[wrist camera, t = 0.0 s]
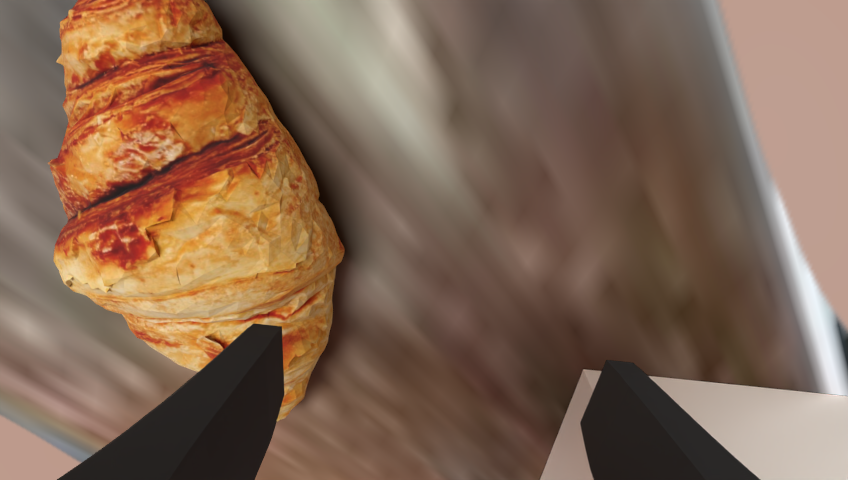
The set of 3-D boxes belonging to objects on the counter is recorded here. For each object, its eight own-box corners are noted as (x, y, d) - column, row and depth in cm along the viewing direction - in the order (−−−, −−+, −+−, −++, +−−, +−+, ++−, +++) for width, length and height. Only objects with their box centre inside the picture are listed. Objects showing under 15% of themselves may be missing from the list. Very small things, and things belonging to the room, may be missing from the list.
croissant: (350, 342, 27) (405, 439, 21) (174, 415, 24) (174, 560, 17) (245, -73, 17) (289, -135, 10) (-94, -55, 13) (-343, -131, 7)
